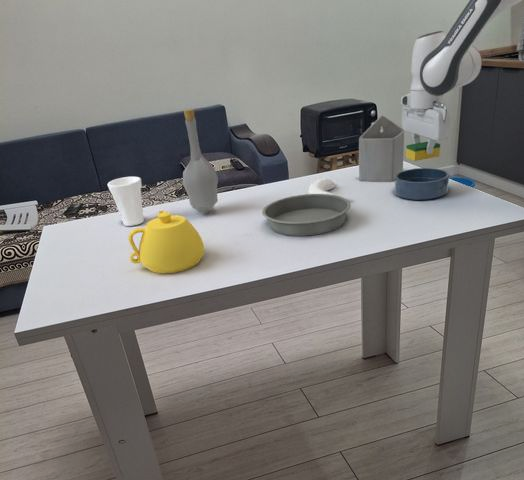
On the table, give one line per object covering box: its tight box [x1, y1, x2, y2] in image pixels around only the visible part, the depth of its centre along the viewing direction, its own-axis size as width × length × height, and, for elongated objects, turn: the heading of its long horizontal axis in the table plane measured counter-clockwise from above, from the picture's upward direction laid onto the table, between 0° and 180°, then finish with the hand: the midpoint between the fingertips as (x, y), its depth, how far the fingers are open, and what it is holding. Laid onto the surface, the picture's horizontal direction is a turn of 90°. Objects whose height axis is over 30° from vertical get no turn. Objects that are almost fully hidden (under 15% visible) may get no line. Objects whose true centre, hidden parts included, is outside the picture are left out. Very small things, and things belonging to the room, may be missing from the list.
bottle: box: [182, 108, 219, 214], centre depth 160 cm, size 11×11×30 cm
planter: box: [358, 115, 405, 183], centre depth 174 cm, size 16×8×19 cm, turn 108°
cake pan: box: [261, 193, 351, 237], centre depth 151 cm, size 25×25×4 cm
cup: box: [107, 176, 145, 227], centre depth 163 cm, size 10×10×13 cm
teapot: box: [127, 210, 206, 274], centre depth 135 cm, size 20×19×13 cm
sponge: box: [405, 141, 441, 162], centre depth 156 cm, size 8×5×4 cm, turn 106°
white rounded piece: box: [307, 178, 347, 199], centre depth 168 cm, size 5×19×15 cm
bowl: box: [394, 167, 450, 201], centre depth 161 cm, size 15×15×6 cm
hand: (422, 151), depth 156 cm, fingers closed on sponge, 5 cm apart
